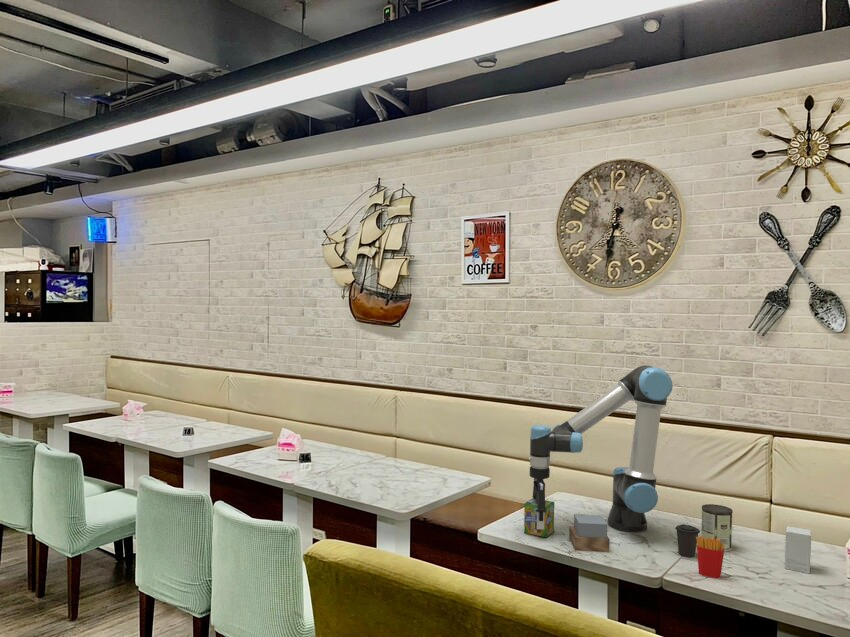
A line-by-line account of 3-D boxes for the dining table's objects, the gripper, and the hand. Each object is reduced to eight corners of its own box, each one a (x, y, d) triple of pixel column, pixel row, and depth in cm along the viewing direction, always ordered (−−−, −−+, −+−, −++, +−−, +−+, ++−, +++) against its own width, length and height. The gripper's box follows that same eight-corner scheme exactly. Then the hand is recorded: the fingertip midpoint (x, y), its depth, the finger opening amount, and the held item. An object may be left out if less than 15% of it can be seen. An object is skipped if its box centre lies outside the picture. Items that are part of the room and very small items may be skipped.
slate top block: (601, 528, 230) (601, 515, 230) (607, 538, 220) (607, 524, 220) (573, 527, 231) (574, 514, 231) (578, 537, 221) (578, 522, 221)
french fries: (723, 575, 202) (725, 538, 202) (722, 580, 198) (723, 542, 198) (695, 569, 206) (696, 533, 206) (693, 573, 203) (694, 536, 203)
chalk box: (546, 538, 231) (547, 498, 231) (523, 533, 236) (524, 494, 236) (554, 531, 239) (555, 492, 239) (532, 526, 244) (533, 489, 244)
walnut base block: (601, 541, 232) (602, 527, 232) (609, 553, 220) (609, 539, 220) (569, 539, 232) (569, 526, 232) (574, 551, 221) (575, 537, 220)
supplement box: (810, 574, 205) (811, 535, 205) (784, 568, 209) (785, 531, 209) (810, 566, 211) (811, 529, 211) (785, 561, 215) (786, 525, 215)
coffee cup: (680, 548, 225) (681, 521, 225) (703, 555, 219) (703, 527, 219) (670, 554, 219) (671, 525, 219) (693, 561, 213) (694, 532, 213)
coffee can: (711, 539, 235) (713, 502, 235) (737, 549, 227) (738, 510, 227) (694, 544, 230) (695, 506, 230) (720, 553, 221) (721, 514, 221)
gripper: (526, 459, 250) (525, 513, 250) (533, 474, 226) (532, 533, 226) (545, 460, 250) (544, 514, 250) (554, 474, 226) (552, 534, 226)
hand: (538, 523), depth 238 cm, fingers closed on chalk box, 12 cm apart
